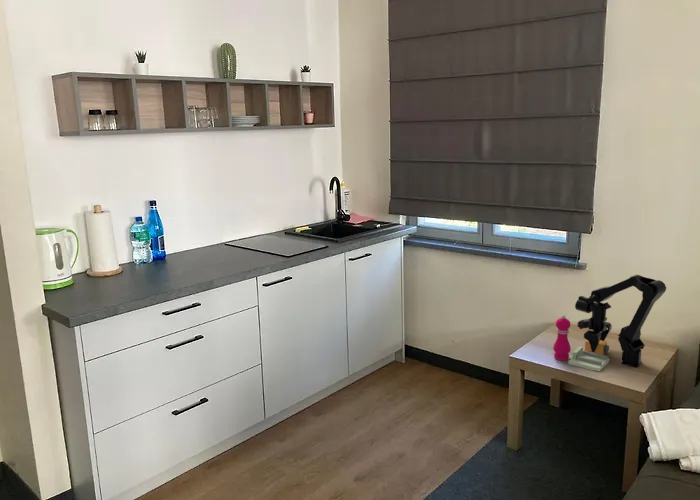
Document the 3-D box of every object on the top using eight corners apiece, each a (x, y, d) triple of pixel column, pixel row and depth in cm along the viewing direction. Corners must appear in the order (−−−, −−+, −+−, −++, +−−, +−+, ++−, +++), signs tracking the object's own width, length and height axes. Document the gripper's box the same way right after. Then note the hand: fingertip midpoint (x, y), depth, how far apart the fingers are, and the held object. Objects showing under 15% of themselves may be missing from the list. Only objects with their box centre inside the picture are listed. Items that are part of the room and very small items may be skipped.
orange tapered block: (609, 352, 262) (609, 342, 260) (605, 356, 258) (606, 345, 257) (588, 348, 268) (588, 337, 266) (584, 351, 264) (585, 340, 263)
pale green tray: (608, 361, 252) (609, 352, 251) (599, 371, 243) (600, 361, 242) (578, 354, 260) (579, 345, 259) (568, 363, 252) (568, 354, 251)
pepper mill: (557, 353, 263) (559, 311, 259) (573, 357, 258) (575, 314, 253) (549, 358, 258) (551, 315, 254) (565, 362, 253) (567, 319, 249)
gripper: (588, 306, 271) (586, 338, 275) (572, 318, 258) (571, 351, 261) (613, 311, 264) (610, 343, 267) (598, 323, 250) (596, 357, 254)
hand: (596, 348), depth 263 cm, fingers open, 9 cm apart
